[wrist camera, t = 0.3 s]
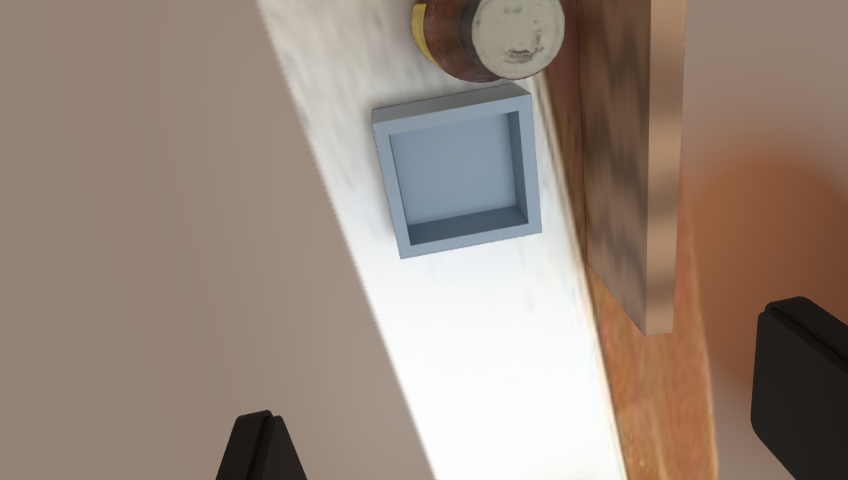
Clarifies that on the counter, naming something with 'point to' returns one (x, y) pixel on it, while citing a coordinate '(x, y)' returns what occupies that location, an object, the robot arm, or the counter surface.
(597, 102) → the back board
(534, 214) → the caddy
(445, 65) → the sauce bottle
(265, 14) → the counter surface
